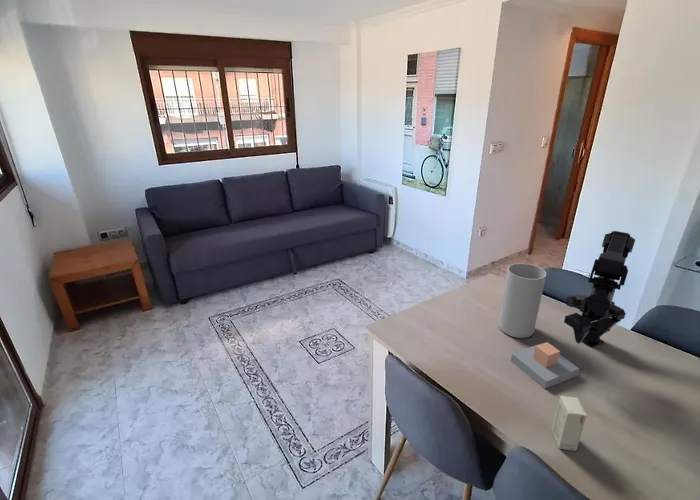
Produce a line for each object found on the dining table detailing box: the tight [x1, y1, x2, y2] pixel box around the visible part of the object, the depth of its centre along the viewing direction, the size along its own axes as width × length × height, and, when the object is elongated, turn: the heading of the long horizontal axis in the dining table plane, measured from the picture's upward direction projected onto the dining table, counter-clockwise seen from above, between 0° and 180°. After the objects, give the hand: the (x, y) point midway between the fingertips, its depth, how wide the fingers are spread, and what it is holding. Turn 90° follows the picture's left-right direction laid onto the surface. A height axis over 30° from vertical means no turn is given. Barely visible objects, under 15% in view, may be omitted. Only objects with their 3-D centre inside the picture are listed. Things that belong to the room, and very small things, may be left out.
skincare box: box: [551, 394, 587, 451], centre depth 94 cm, size 6×4×12 cm
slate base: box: [510, 342, 580, 389], centre depth 120 cm, size 14×14×3 cm
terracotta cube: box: [533, 341, 561, 368], centre depth 119 cm, size 5×5×5 cm
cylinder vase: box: [498, 262, 547, 339], centre depth 136 cm, size 12×12×25 cm
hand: (588, 339), depth 116 cm, fingers open, 9 cm apart
